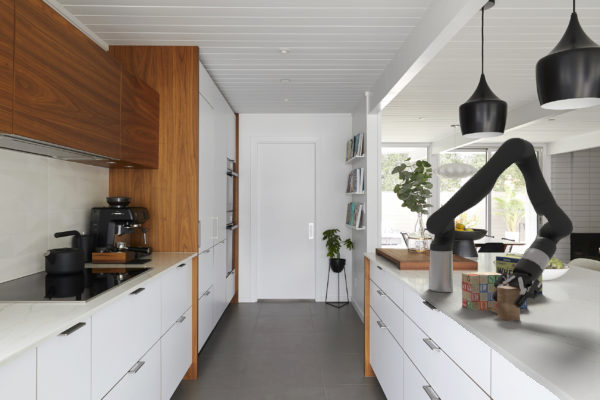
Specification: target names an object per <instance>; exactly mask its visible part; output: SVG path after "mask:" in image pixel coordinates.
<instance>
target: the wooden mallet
mask: <svg viewBox="0 0 600 400" xmlns="http://www.w3.org/2000/svg"><path fill="white" fill-rule="evenodd" d="M519 295H520V288H517V287H512V286H501V287H497V307H498V309H493V308H490V307H489V308H488V311H490V312H493V313H496V314H497V318H498V319H500V320H503V321H506V322H511V321H512V320H513V321H520V320H521V308H518V307H516V306H515V304H514V302H515V301H516V299H517V298H518V296H519Z"/></svg>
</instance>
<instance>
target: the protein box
mask: <svg viewBox="0 0 600 400" xmlns="http://www.w3.org/2000/svg"><path fill="white" fill-rule="evenodd" d="M522 255H523V254H521V253H520V254H518V253H516V254H509V255H508V254H507V255H497V256H495V273H499V274H502V273H505V274H506V275H509V276H510V275H511V274H512V273H513V268H514V267H515V265H516V264H517V262H518V261H519V260H520V258H521V257H522ZM538 280H539V281H540V282H541V284H542V285H543V273H542V274H541V276H540V277H539V279H538ZM530 288H531V287H529V289H530ZM533 292H534V291H533ZM542 295H543V287H542V288H541V290H540V291H539V293H538V295H537V296H542Z"/></svg>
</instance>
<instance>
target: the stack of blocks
mask: <svg viewBox="0 0 600 400" xmlns="http://www.w3.org/2000/svg"><path fill="white" fill-rule="evenodd" d="M501 275H502V274H499V273H496V271H479V272H478V271H474V272H462V273H461V297H462V298H461V301H462V302H461V303H462V304H461V306H463V308H467V309H469V310H470V311H486V310H488V308H489V307H490V308H493V309H496V310H498V307H497V301H495V300H494V299H493V298H492V296H493V294H494V292H495V291H496V290H497V289H496V288H495V286H494V283H495V282H496V281H497V280H498V278H499V277H500V276H501ZM498 285H500V283H499V284H498ZM507 285H508V286H510V285H509V283H508V284H507ZM520 294H521V291H520ZM521 295H522V294H521ZM526 308H527V309H528V299H527V300H526V301H525V303H524V304H523V306H521V307H520V309H526ZM488 311H489V310H488Z"/></svg>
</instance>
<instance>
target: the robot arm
mask: <svg viewBox="0 0 600 400" xmlns="http://www.w3.org/2000/svg"><path fill="white" fill-rule="evenodd" d="M535 150H536V149H535V146H534V145H533V144H532V142H530V141H528V140H527V139H524V138H522V137H517V136H515V137H514V136H513V137H511V138H508V139H507V140H505V141H504V142H503V143H502V144H501V145H500V146H499V147H498V148H497V150H496V151H495V152H494V153H493V154H492V156H491V157H490V158H489V159H488V160H487V162H485V164H484V165H482V167H480V169H478V170H477V172H475V173H474V174H473V175H472V176H471V177H470V178H469V179H468V180H467V181H466V182H465V183H464V184H463V185H462V186H461V187H460V188H459V189H458V190H457V191H456V192H455V193H454V194H453V195H452V196H451V197H450V198H449V199H448V200H447V201H446V202H445V203H444V204H443V205H442V206H441V207H439V208H438V209H437V210H436V211H434V212H433V213H432V214H431V215H430V216H428V217H427V220H426V221H425V222H426V223H425V227H426V230H427V232H428V233H430V234H432V235H434V236H433V237H434V238H433V239H432V240H433V241H432V242H430V244H429V267H428V289H429V290H431V291H432V292H439V293H451V292H453V291H454V278H453V277H454V272H453V271H454V270H453V269H454V265H453V264H454V262H453V256H454V255H453V247H454V244H455V235H456V234H455V231H456V229H455V227H456V226H455V225H456V224H455V219H457V217H459V216H460V215H461V214H463V213H465V212H466V211H469V210H470V209H471V208H474V207H475V206H477V205H478V204H479V203H480V202H482V201H483V200H484V199H485V198H486V197H487V196H488V195H489V194H490V193H491V192H492V191H493V189H494V187H495V185H496V183H497V181H498V179H499V178H500V176H502V174H503V173H504V172H505V171H506V170H507V169H509V168H510V167H511V166H512V165H513V164H515V166H516V167H517V168H518V170H519V171H520V173H521V175H522V177H523V180H524V184H525V189H526V190H525V191H526V194H527V197H528V199H529V201H530V204H531V206H532V208H533V210H534V212H535V213H536V214H537V216H541V217H542V216H544V218H545V219H546V220H547V222H545V223H544V224H543V225H542V226H541V227H540V228H539V230H538V232H537V234H536V237H535V239H534V240H533V241H532V242H531V244H530V246H529V247H528V248H527V249H526V251H525V252H524V253H523V254H521V255H522V257H521V258H520V260H519V261H518V262H517V264H516V265H515V267H514V268H513V273H512V274H511V275H510V276H509V275H506V274H505V273H502V275H501V276H500V277H499V278H498V280H497V281H496V282H495V283H494V286H495V288H496V289H497V287H501V286H508V285H507V284H508V283H509V285H510V286H512V287H517V288H520V291H521V294H522V295H521V294H520V295H519V296H518V298H517V299H516V301H515V302H514V304H515V306H516V307H518V308H520V307H521V306H523V304H524V303H525V301H526V300H527V301H528V300H530V299H531V300H535V299H536V298H537V296H539V295H538V293H539V291H540V290H541V288H542V289H543V283H542V284H541V282H540V281H539V280H538V279H539V277H540V276H541V274H542V275H543V273H544V272H545V270H546V268H547V267H548V265H549V262H550V261H551V259H552V258H553V257H554V255H555V254H556V252H557V245H558V243H559V242H560V241H561V240H563V239H565V238H567V237H568V236H570V235H571V234H572V233H573V232H574V225H573V222H572V220H571V218H570V217H569V216H568V214H567V213H565V211H564V210H563V209H562V208H561V207H560V206H559V205H558V203H557V201H556V199H555V197H554V194H553V193H552V191H551V189H550V188H549V185H548V183H547V182H546V179H545V176H544V175H543V172H542V170H541V167H540V164H539V160H538V156H537V152H536V151H535ZM499 283H500V285H498V284H499ZM529 287H531V288H530V289H529ZM533 291H534V292H533ZM492 298H493V299H494V300H495V301H497V290H496V291H495V292H494V294H493V296H492ZM520 309H521V308H520Z"/></svg>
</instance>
